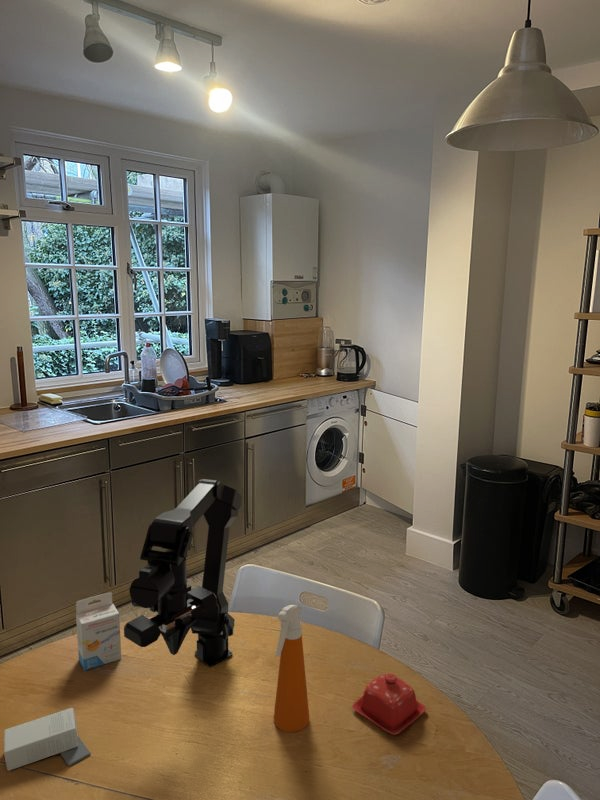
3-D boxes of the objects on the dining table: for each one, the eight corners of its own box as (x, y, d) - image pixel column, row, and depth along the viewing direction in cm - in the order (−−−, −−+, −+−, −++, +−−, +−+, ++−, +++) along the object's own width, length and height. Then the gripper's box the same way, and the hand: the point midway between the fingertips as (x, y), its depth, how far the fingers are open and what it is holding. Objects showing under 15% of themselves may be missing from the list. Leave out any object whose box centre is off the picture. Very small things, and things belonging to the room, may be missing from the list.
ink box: (84, 672, 132) (79, 611, 129) (78, 660, 136) (74, 601, 133) (122, 659, 136) (119, 600, 133) (115, 647, 141) (112, 590, 137)
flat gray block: (74, 733, 114) (74, 731, 114) (90, 754, 109) (90, 752, 109) (53, 744, 112) (53, 742, 112) (68, 766, 107) (68, 764, 107)
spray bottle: (259, 740, 113) (259, 614, 108) (282, 703, 123) (282, 586, 118) (294, 751, 111) (295, 623, 105) (314, 712, 120) (316, 593, 115)
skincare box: (76, 724, 116) (8, 748, 111) (73, 705, 114) (3, 728, 110) (79, 747, 110) (7, 773, 106) (75, 727, 109) (2, 753, 104)
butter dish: (384, 685, 129) (385, 650, 127) (429, 713, 121) (431, 676, 119) (348, 711, 121) (349, 674, 119) (394, 743, 113) (396, 704, 111)
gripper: (181, 551, 127) (183, 618, 130) (104, 585, 112) (108, 660, 115) (218, 568, 120) (219, 638, 123) (141, 606, 105) (144, 684, 109)
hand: (173, 653), depth 118 cm, fingers closed
